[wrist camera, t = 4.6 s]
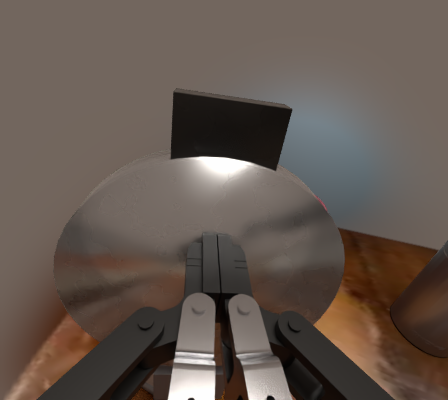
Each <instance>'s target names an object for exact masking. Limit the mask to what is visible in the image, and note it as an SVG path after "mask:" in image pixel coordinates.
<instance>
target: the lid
mask: <svg viewBox="0 0 448 400" xmlns="http://www.w3.org/2000/svg"><path fill="white" fill-rule="evenodd" d="M291 113H292V108H290V107H288V106H286V105H285V104H279V103H273V102H265V101H259V100H252V99H245V98H239V97H232V96H225V95H218V94H212V93H205V92H198V91H191V90H184V89H177V88H176V89H175V91H174V93H173V115H172V137H171V149H169V150H164V151H159V152H156V153H153V154H150V155H147V156H145V157H141V158H139V159H137V160H135V161H133V162H131V163H129V164H127V165H125V166H123V167H121V168H119V169H118V170H117V171H115V172H114V173H112V174H111V175H109V176H108V177H107V178H105V179H104V180H103V181H102V182H101V183H100V184H99V185H98V186H97V187H96V188H95V189H94V190H93V191H92V192H91V193H90V195H89V196H88V197H87V198H86V199H85V201H84V202H83V203H82V204H81V206H80V207H79V208H78V209H77V211H76V212H75V213H74V215H73V216H72V217H71V219H70V220H69V222H68V223H67V224H66V226H65V227H64V230H63V232H62V234H61V236H60V238H59V240H58V243H57V247H56V251H55V255H54V270H53V272H54V278H55V284H56V288H57V291H58V294H59V296H60V299H61V301H62V303H63V305H64V306H65V308H66V310H67V312H68V313H69V314H70V315H71V317H72V318H73V319H74V321H75V322H76V323H77V324H78V325H79V326H80V327H81V328H82V329H83V330H84V331H85V332H87V333H88V334H89V335H91V336H92V337H93V338H95V339H96V340H97V341H99V342H101V341H103V340H104V339H105V338H106V337H107V336H108V335H109V334H110V333H112V332H113V331H114V330H115V329H116V328H117V327H118V326H119V325H120V324H122V323H123V322H124V321H125V320H126V319H127V318H128V317H129V316H131V315H132V314H133V313H134V312H135V311H136V310H138V309H140V308H143V307H154V308H157V309H158V310H160V311H164V310H167V309H170V308H173V307H175V306H176V305H178V304H179V303H180V302H181V300H182V299H183V297H184V284H185V269H186V259H187V250H188V248H189V246H190V245H191V243H192V242H194V243H201V239H202V233H210V234H216V235H217V234H226V235H231V239H232V245H240V246H241V248H242V249H243V251H244V252H245V256H246V263H247V267H248V272H249V278H250V283H251V289H252V294H253V297H254V299H255V301H256V302H257V304H258V305H259V306H261V307H262V308H264V309H265V310H268V311H270V312H273V313H276V314H279V315H281V313H283V312H285V311H295V312H297V313H299V314H301V315H302V316H303V317H304V318H306V319H307V320H308V321H309V322H310V323H311V324H312V325H314V324H315V323H316V322H317V321H318V320H319V319H320V318H321V316H322V315H323V314H324V313H325V312H326V310H327V309H328V308H329V306H330V305H331V303H332V301H333V300H334V298H335V296H336V294H337V292H338V289H339V287H340V284H341V281H342V277H343V273H344V261H345V258H344V248H343V243H342V240H341V236H340V233H339V230H338V229H337V227H336V225H335V223H334V221H333V219H332V217H331V216H330V215H329V214H328V212H327V211H326V209H325V208H324V207H323V206H322V204H321V203H320V202H319V200H318V199H317V198H316V197H315V195H314V194H313V193H312V192H311V190H310V189H309V188H308V187H307V186H306V185H305V184H304V183H303V182H302V181H301V180H300V179H299V178H298V177H297V176H296V175H294V174H293V173H291V172H290V171H288V170H287V169H285V168H284V167H282V166H280V165H279V164H278V162H279V158H280V154H281V150H282V146H283V143H284V139H285V135H286V132H287V128H288V124H289V120H290V116H291ZM220 333H221V329H220V323H215V337H214V359H215V366H222V360H221V352H220V344H219V336H220ZM173 364H174V359H173V360H170V361H168V362H165V363H163V364H160V365H166V366H173Z"/></svg>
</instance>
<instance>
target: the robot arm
mask: <svg viewBox="0 0 448 400" xmlns="http://www.w3.org/2000/svg"><path fill="white" fill-rule="evenodd" d="M390 312H391V317H392V320H393V322H394V324H395V325H396V327H397V328H398V330H399V331H400V332H401V333H402V334H403V335H404V337H405V338H406V339H408V340H409V341H410V342H411V343H412V344H414V345H415V346H416V347H418V348H419V349H421V350H423V351H425V352H426V353H429V354H431V355H434V356H438V357H448V241H447V242H446V243H445V244H444V245H443V247H442V248H441V249H440V250H439V251H438V252H437V254H436V255H435V256H434V257H433V258H432V259H431V260H430V262H429V263H428V264H427V265H426V266H425V267H424V269H423V270H422V271H421V272H420V273H419V274H418V275H417V277H416V278H415V279H414V280H413V281H412V282H411V284H410V285H409V286H408V287H407V288H406V289H405V290H404V291H403V293H402V294H401V295H400V296H399V297H398V298H397V300H396V301H395V302H394V303H393V304H392V306H391V309H390ZM215 323H220V329H221V333H220V336H219V344H220V352H221V360H222V368H223V376H224V384H225V395H224V400H292V398H291V394H292V395H293V396H294V397H295V399H296V400H395V399H393V398H392V397H391V396H390V395H389V394H388V393H387V392H386V391H385V390H384V389H382V388H381V387H380V386H379V385H378V384H377V383H376V382H375V381H374V380H373V379H371V378H370V377H369V376H368V375H367V374H366V373H365V372H364V371H363V370H362V369H360V368H359V367H358V366H357V365H356V364H355V363H354V362H353V361H352V360H351V359H349V358H348V357H347V356H346V355H345V354H344V353H343V352H342V351H341V350H340V349H339V348H337V347H336V346H335V345H334V344H333V343H332V342H331V341H330V340H329V339H328V338H326V337H325V336H324V335H323V334H322V333H321V332H320V331H319V330H318V329H317V328H315V327H314V326H313V325H312V324H311V323H310V322H309V321H308V320H307V319H306V318H304V317H303V316H302V315H301V314H299V313H297V312H295V311H285V312H283V313H281V315H279V314H276V313H273V312H270V311H268V310H265V309H264V308H262V307H261V306H259V305H258V304H257V302H256V301H255V299H254V297H253V294H252V289H251V283H250V278H249V272H248V267H247V263H246V256H245V252H244V251H243V249H242V248H241V246H240V245H232V239H231V235H226V234H217V235H216V234H210V233H202V239H201V243H194V242H192V243H191V245H190V246H189V248H188V250H187V259H186V269H185V284H184V297H183V299H182V300H181V302H180V303H179V304H178V305H176V306H175V307H173V308H170V309H167V310H164V311H160V310H158V309H157V308H154V307H143V308H140V309H138V310H136V311H135V312H134V313H133V314H132V315H131V316H129V317H128V318H127V319H126V320H125V321H124V322H123V323H122V324H120V325H119V326H118V327H117V328H116V329H115V330H114V331H113V332H112V333H110V334H109V335H108V336H107V337H106V338H105V339H104V340H103V341H101V342H100V343H99V344H98V345H97V346H96V347H95V348H94V349H93V350H91V351H90V352H89V353H88V354H87V355H86V356H85V357H84V358H82V359H81V360H80V361H79V362H78V363H77V364H76V365H75V366H73V367H72V368H71V369H70V370H69V371H68V372H67V373H66V374H65V375H63V376H62V377H61V378H60V379H59V380H58V381H57V382H56V383H54V384H53V385H52V386H51V387H50V388H49V389H48V390H47V391H46V392H44V393H43V394H42V395H41V396H40V397H39V398H38V399H37V400H131V399H132V398H133V397H134V396H135V394H136V393H137V392H138V391H139V390H140V388H141V387H142V386H143V385H144V384H145V382H146V381H147V380H148V379H149V378H150V376H151V375H152V374H153V373H154V372H155V371H156V369H157V368H158V367H159V366H160V364H163V363H165V362H168V361H170V360H173V359H174V364H173V370H172V377H171V383H170V390H169V396H168V400H215V359H214V337H215ZM290 393H291V394H290Z"/></svg>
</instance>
